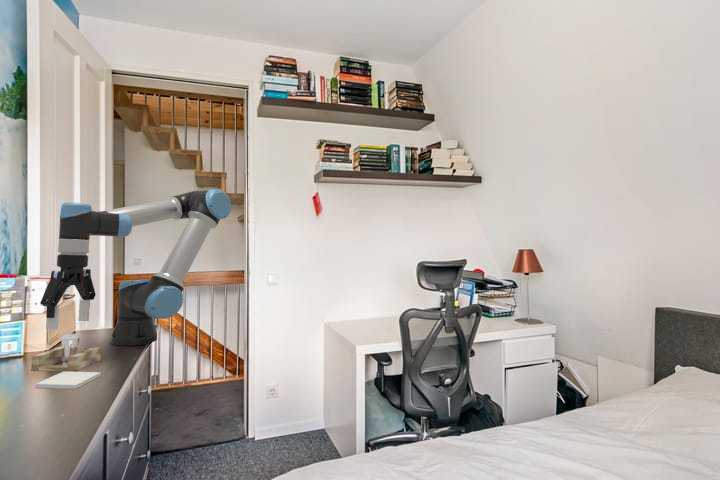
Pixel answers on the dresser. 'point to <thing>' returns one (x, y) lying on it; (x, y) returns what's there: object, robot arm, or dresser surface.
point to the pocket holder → (54, 356)
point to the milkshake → (69, 346)
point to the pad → (68, 380)
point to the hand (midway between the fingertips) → (68, 324)
